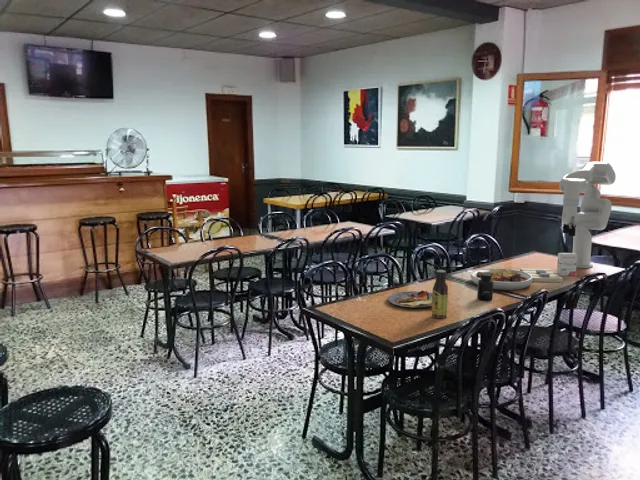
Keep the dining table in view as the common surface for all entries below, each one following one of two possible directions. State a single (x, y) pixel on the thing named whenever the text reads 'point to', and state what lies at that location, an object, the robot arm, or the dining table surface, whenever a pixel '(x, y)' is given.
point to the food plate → (412, 299)
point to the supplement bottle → (485, 288)
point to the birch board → (538, 278)
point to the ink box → (566, 264)
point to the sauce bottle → (440, 295)
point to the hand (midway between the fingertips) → (568, 234)
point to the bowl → (504, 278)
